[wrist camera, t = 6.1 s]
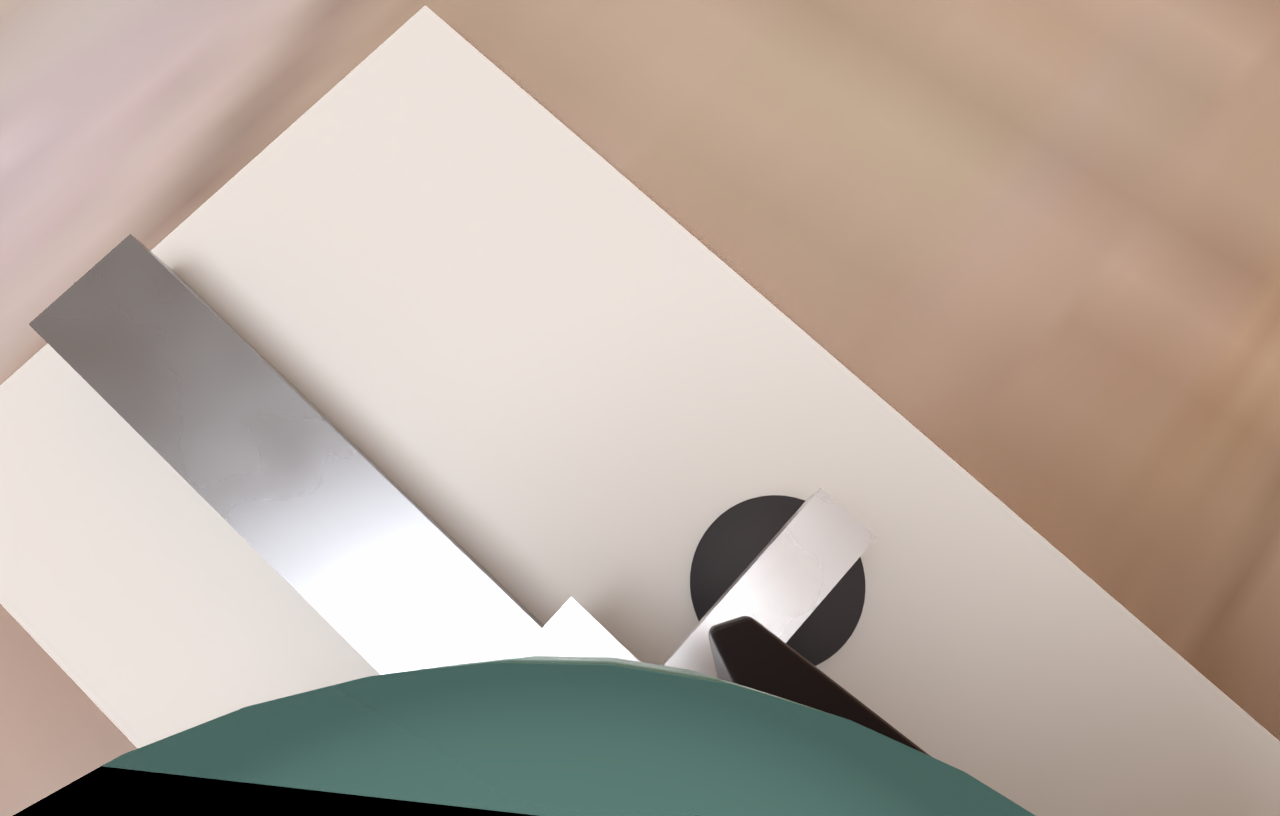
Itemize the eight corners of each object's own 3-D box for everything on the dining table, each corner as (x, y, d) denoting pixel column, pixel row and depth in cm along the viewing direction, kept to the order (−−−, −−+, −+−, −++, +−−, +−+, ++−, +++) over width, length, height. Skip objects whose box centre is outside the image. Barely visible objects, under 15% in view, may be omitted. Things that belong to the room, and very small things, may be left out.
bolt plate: (1610, 1055, 16) (1682, 1084, 15) (1166, 1794, 14) (1213, 1893, 13) (434, 37, 19) (424, 2, 18) (-71, 494, 17) (-116, 484, 16)
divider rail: (1559, 1201, 14) (2199, 1578, 9) (1320, 1604, 13) (1870, 2352, 8) (343, 113, 18) (212, -145, 12) (70, 360, 17) (-222, 209, 11)
